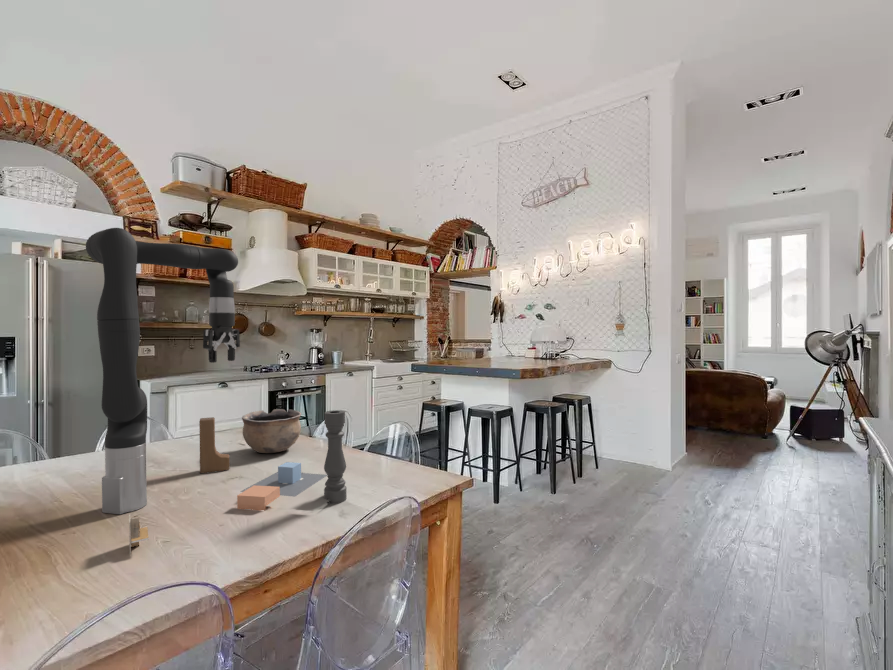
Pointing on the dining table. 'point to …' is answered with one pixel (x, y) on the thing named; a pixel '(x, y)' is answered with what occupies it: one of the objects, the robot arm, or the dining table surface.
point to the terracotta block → (257, 497)
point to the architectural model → (136, 532)
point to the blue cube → (289, 472)
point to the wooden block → (210, 449)
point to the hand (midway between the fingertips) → (222, 361)
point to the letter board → (290, 489)
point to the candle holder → (335, 457)
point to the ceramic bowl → (271, 430)
